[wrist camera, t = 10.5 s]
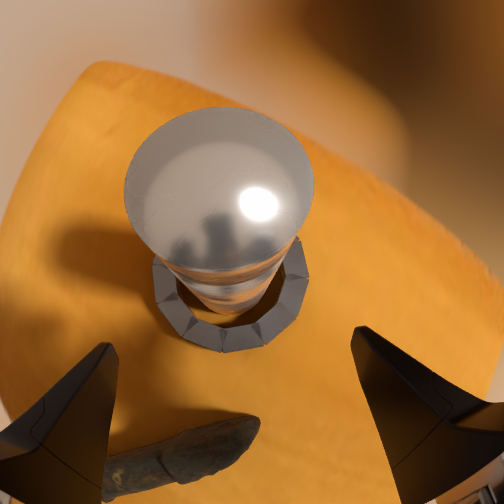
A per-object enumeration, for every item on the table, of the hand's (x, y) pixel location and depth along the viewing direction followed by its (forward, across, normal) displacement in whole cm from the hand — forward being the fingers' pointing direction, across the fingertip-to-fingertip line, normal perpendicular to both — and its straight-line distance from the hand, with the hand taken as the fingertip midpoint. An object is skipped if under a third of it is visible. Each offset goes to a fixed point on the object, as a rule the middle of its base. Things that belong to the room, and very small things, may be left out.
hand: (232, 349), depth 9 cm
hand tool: (+1, +8, +13) cm, 15 cm away
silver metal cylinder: (+10, 0, +3) cm, 10 cm away
